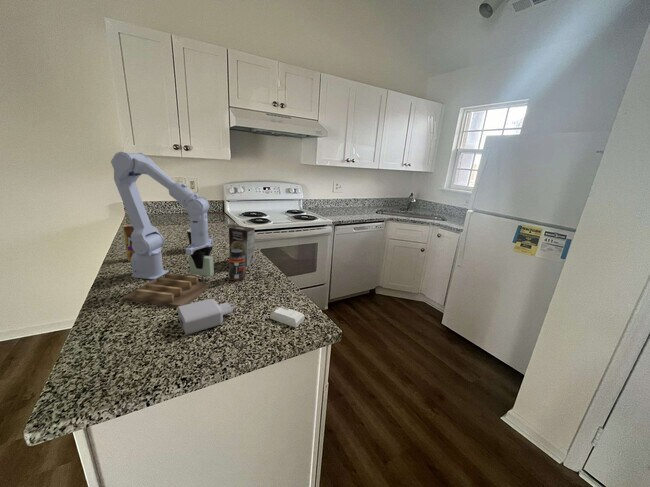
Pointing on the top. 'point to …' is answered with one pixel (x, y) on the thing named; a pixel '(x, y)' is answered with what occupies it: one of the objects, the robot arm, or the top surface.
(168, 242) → the top surface
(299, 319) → the soap bar
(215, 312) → the grey bottle
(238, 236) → the coffee box
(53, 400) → the top surface
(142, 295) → the dish rack
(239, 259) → the supplement bottle
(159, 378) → the top surface
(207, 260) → the pale green block
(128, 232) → the candy box
